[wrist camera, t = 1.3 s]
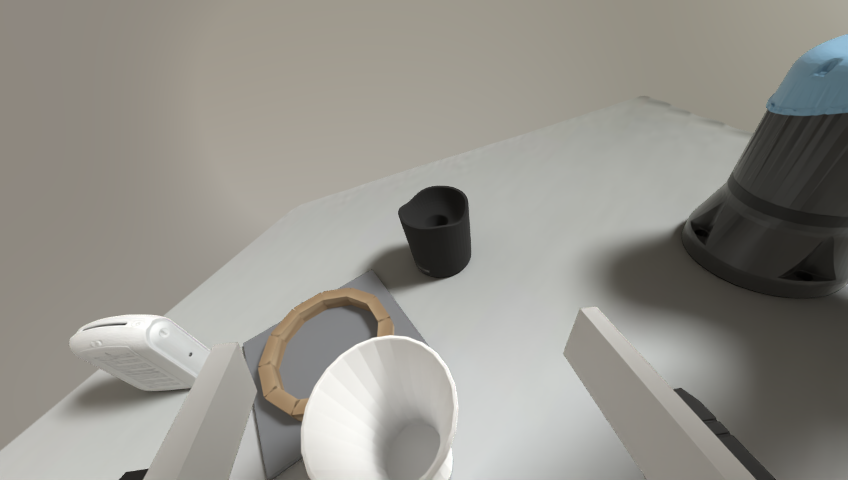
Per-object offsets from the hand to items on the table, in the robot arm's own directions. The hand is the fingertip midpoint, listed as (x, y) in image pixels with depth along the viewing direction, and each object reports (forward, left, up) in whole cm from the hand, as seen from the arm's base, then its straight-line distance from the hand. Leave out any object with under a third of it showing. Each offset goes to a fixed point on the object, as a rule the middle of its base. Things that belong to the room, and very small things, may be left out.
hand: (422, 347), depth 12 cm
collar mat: (+6, -20, -23) cm, 31 cm away
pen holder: (-14, -24, -23) cm, 36 cm away
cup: (+3, -4, -23) cm, 24 cm away
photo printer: (+24, -30, -23) cm, 45 cm away
